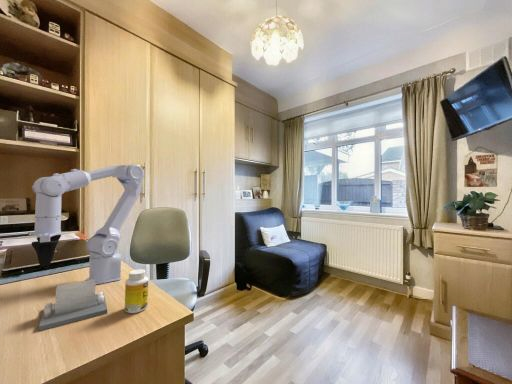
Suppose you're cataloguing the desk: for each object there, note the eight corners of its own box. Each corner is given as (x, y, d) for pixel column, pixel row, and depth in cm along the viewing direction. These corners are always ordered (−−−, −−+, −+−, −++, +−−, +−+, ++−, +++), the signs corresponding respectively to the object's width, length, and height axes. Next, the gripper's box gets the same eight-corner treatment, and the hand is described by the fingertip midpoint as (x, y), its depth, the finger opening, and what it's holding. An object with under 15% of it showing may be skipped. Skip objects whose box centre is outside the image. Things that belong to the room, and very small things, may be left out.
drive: (93, 300, 64) (94, 279, 64) (94, 305, 60) (95, 283, 60) (56, 308, 58) (56, 285, 59) (55, 315, 55) (55, 291, 55)
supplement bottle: (145, 313, 59) (146, 274, 59) (121, 315, 58) (122, 275, 58) (149, 302, 65) (150, 267, 65) (128, 304, 63) (129, 268, 63)
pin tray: (103, 296, 68) (103, 286, 68) (107, 313, 59) (107, 301, 59) (45, 309, 60) (45, 297, 60) (38, 331, 51) (39, 317, 51)
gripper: (33, 215, 70) (31, 258, 70) (24, 219, 59) (22, 271, 59) (63, 214, 75) (61, 255, 74) (60, 218, 63) (58, 266, 63)
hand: (46, 262), depth 67 cm, fingers open, 7 cm apart
